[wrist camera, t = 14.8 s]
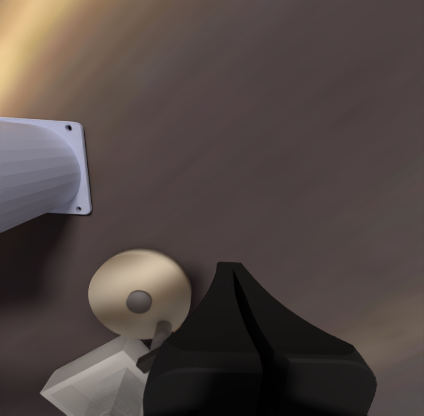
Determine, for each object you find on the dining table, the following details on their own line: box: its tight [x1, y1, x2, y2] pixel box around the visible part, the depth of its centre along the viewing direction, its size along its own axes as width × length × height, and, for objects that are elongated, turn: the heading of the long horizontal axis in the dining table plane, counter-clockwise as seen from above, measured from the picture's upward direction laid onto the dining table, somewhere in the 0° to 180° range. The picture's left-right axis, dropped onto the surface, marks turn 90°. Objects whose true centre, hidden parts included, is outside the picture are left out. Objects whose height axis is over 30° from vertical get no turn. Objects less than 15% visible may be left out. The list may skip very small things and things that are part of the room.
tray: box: [40, 335, 150, 416], centre depth 26 cm, size 12×12×2 cm
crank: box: [88, 248, 192, 374], centre depth 20 cm, size 10×10×5 cm
